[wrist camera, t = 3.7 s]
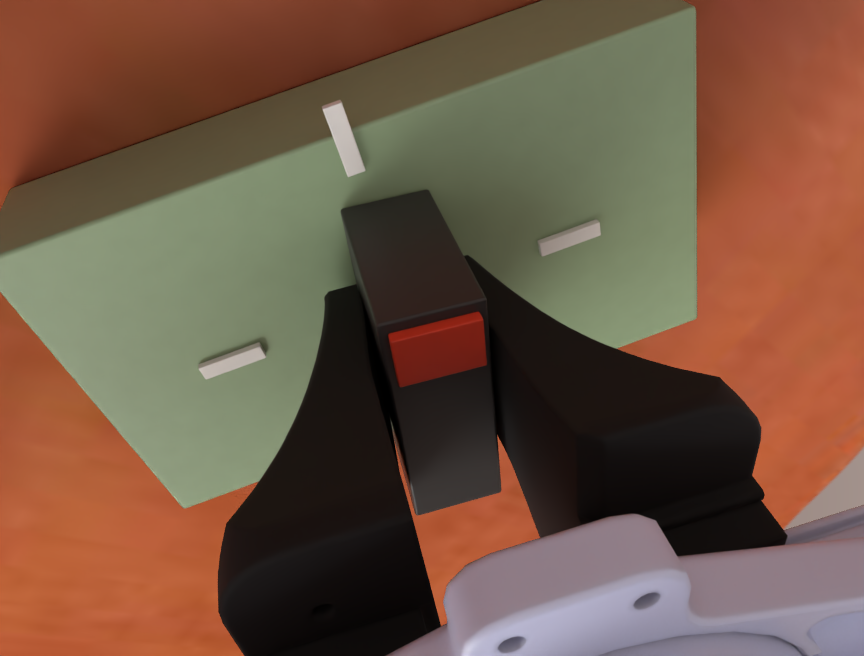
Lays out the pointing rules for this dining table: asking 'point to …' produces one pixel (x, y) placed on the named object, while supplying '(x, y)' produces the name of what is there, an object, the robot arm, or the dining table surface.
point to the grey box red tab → (428, 347)
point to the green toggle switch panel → (353, 185)
